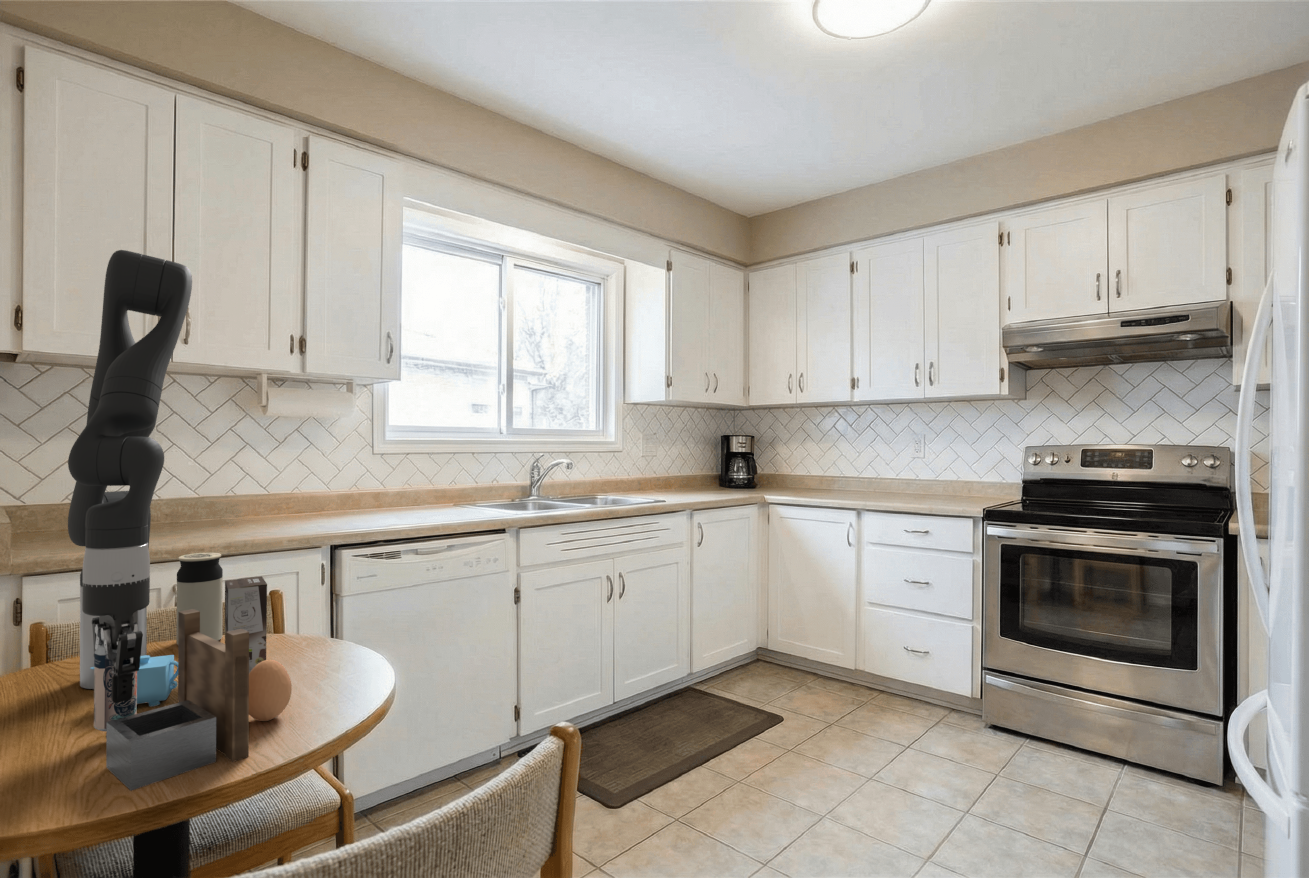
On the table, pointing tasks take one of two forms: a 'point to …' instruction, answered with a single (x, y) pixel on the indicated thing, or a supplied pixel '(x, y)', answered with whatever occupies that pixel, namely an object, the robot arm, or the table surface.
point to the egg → (268, 690)
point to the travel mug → (201, 591)
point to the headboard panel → (216, 681)
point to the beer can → (109, 692)
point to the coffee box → (248, 613)
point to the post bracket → (160, 743)
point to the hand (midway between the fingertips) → (115, 695)
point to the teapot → (155, 679)
